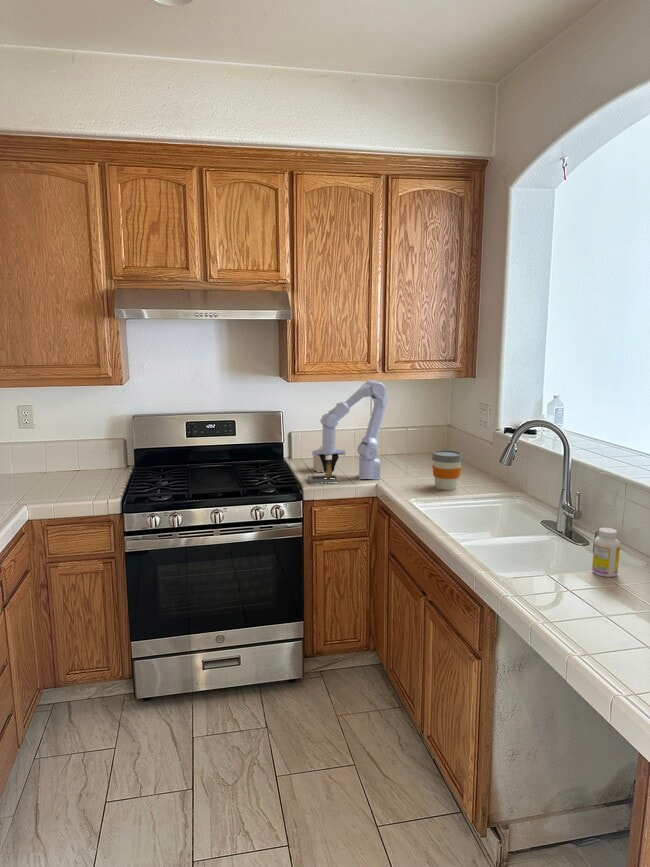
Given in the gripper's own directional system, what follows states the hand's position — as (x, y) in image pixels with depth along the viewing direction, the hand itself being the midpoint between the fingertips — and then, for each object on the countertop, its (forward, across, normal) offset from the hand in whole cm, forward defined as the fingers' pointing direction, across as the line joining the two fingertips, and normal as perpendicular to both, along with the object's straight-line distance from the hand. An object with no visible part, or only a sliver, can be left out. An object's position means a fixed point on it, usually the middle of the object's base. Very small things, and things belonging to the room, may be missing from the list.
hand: (328, 471), depth 271 cm
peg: (+3, 0, 0) cm, 3 cm away
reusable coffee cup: (+5, -49, +15) cm, 51 cm away
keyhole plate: (+5, +2, 0) cm, 5 cm away
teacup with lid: (+5, +1, -21) cm, 22 cm away
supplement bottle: (+5, -66, +108) cm, 127 cm away
